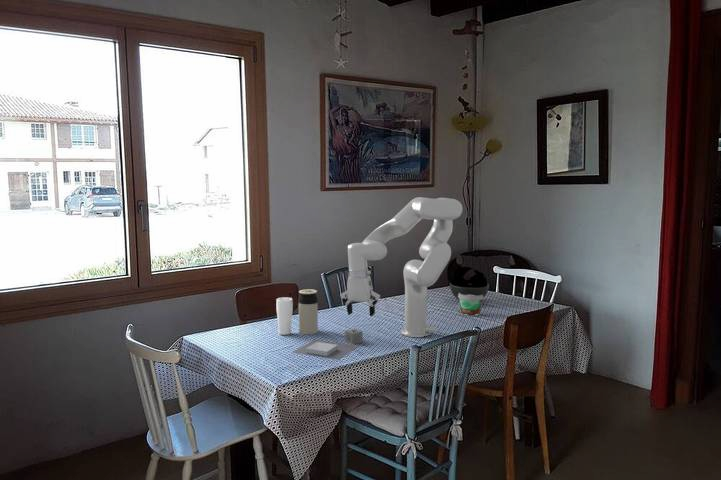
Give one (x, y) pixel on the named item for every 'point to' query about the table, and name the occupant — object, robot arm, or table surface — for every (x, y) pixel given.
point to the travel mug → (308, 312)
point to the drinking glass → (284, 315)
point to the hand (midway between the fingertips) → (361, 314)
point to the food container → (470, 303)
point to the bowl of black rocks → (468, 283)
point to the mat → (338, 354)
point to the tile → (321, 349)
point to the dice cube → (353, 336)
